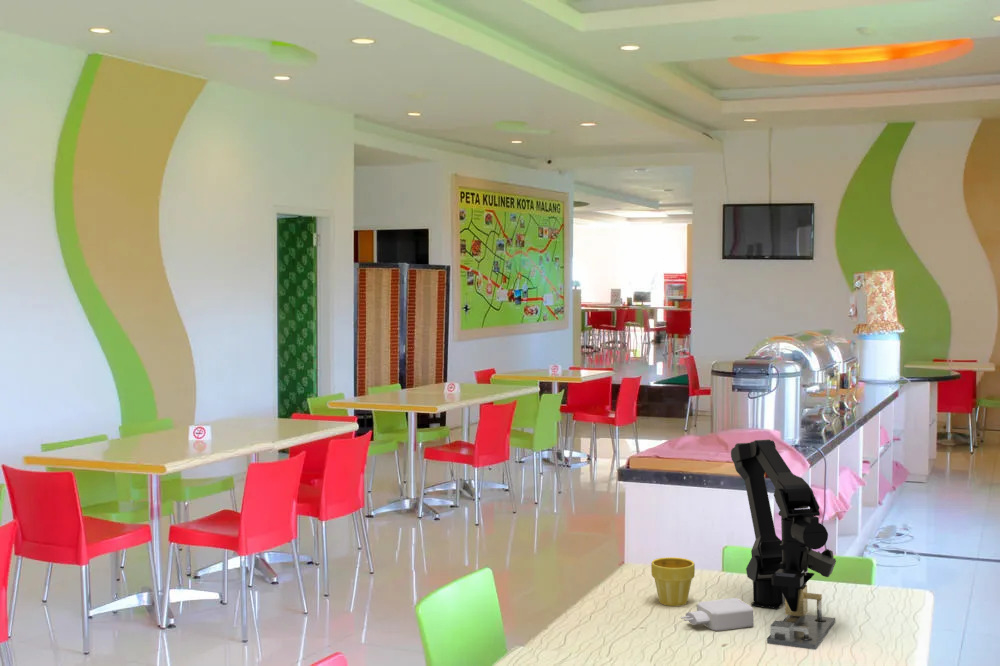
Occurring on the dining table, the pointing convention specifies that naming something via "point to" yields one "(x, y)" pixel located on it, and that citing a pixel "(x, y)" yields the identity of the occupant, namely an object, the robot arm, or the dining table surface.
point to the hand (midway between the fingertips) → (796, 608)
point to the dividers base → (800, 631)
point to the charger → (722, 614)
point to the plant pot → (673, 579)
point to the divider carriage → (805, 604)
